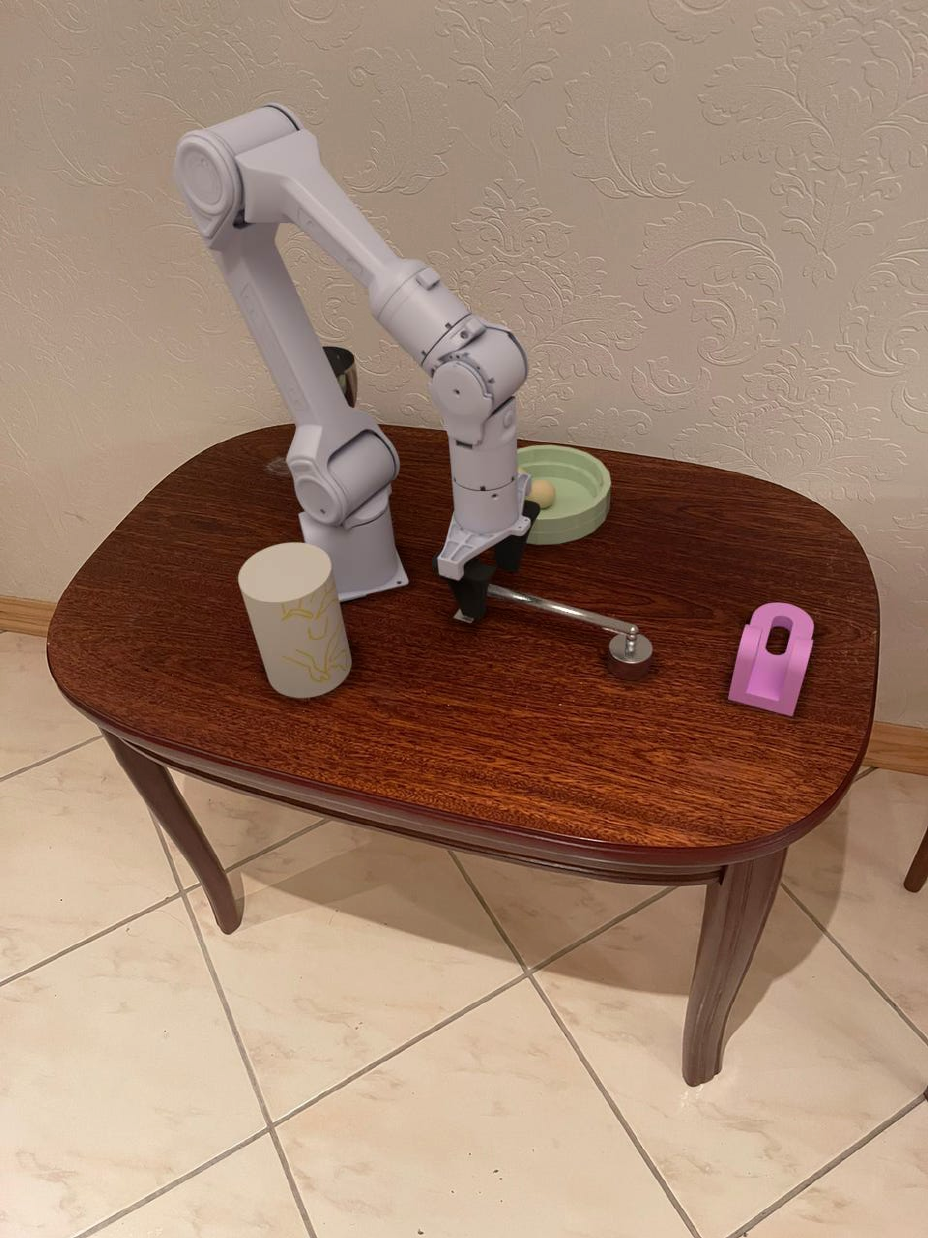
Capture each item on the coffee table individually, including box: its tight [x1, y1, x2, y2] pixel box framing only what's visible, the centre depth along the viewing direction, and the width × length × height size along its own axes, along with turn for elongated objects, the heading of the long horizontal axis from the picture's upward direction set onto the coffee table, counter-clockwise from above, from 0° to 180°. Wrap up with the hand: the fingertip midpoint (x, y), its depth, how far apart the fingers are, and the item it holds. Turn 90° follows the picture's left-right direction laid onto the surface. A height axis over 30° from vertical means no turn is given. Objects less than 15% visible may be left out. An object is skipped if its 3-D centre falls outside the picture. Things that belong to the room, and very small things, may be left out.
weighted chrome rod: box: [453, 583, 654, 681], centre depth 84 cm, size 20×4×5 cm, turn 63°
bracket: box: [727, 602, 815, 717], centre depth 80 cm, size 13×6×7 cm, turn 156°
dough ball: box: [528, 480, 556, 508], centre depth 101 cm, size 3×3×3 cm
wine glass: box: [322, 345, 359, 408], centre depth 105 cm, size 8×8×15 cm
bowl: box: [517, 444, 612, 546], centre depth 101 cm, size 15×15×4 cm
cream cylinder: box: [237, 542, 353, 699], centre depth 82 cm, size 8×8×12 cm
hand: (491, 591), depth 85 cm, fingers open, 7 cm apart
